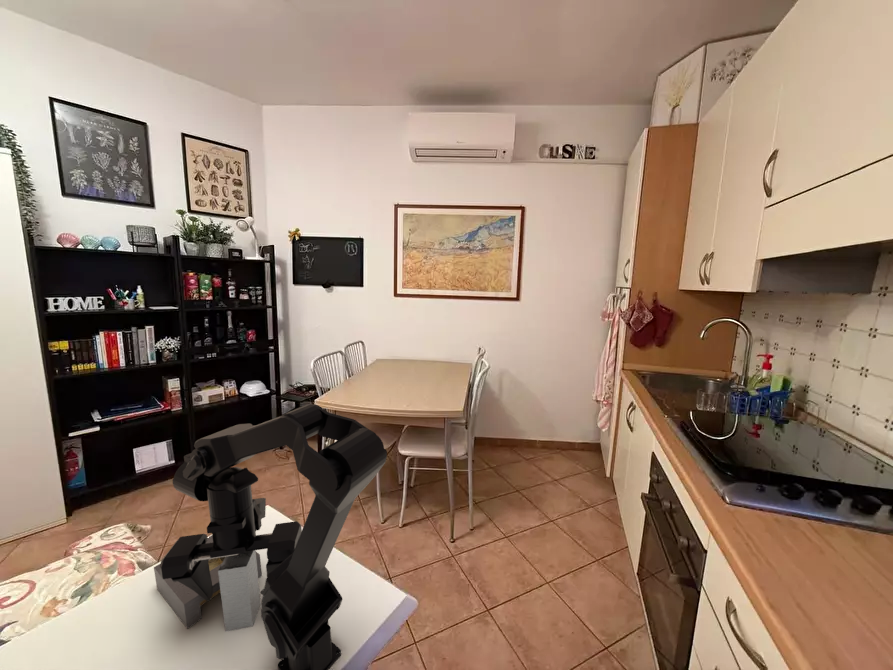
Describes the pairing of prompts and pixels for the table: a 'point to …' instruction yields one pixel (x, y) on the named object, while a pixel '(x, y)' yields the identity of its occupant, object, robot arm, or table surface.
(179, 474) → the robot arm
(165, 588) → the slotted bridge-shaped block
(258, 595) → the tall square pillar
